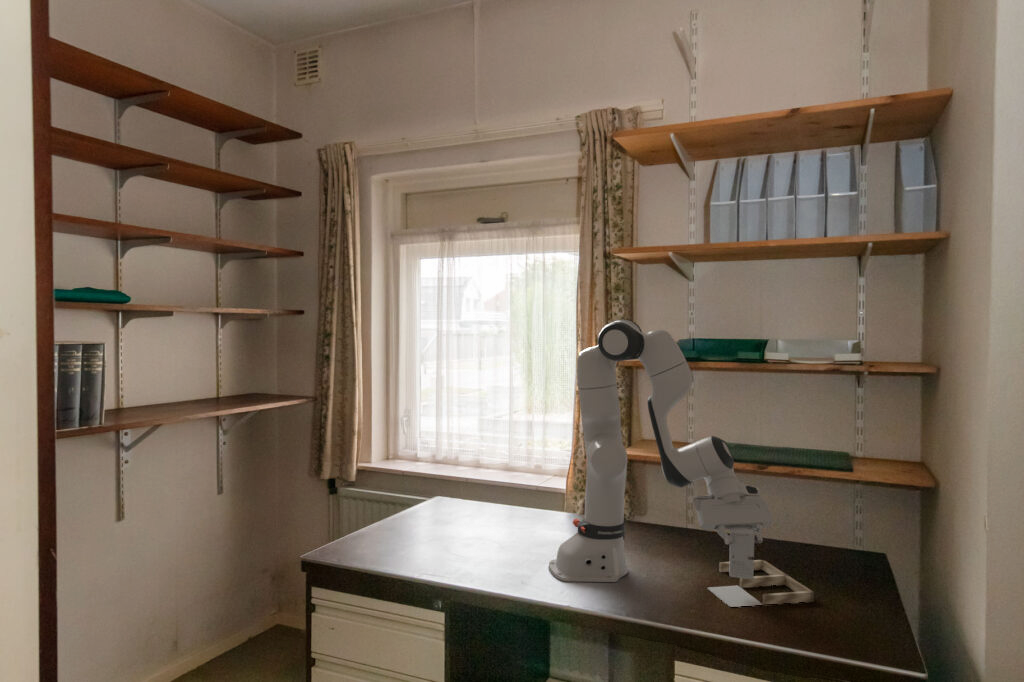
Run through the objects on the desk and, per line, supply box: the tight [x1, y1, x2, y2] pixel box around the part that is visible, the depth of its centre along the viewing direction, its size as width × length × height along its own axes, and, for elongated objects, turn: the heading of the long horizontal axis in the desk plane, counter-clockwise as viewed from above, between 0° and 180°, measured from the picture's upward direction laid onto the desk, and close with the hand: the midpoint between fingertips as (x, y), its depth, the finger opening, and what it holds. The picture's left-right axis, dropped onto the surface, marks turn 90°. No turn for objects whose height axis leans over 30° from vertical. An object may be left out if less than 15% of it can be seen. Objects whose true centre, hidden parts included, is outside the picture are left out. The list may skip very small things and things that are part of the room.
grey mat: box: [706, 585, 764, 608], centre depth 174 cm, size 9×12×1 cm
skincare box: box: [728, 527, 755, 579], centre depth 174 cm, size 6×4×12 cm
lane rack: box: [718, 559, 815, 605], centre depth 182 cm, size 14×23×2 cm, turn 12°
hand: (744, 542), depth 172 cm, fingers closed on skincare box, 7 cm apart
